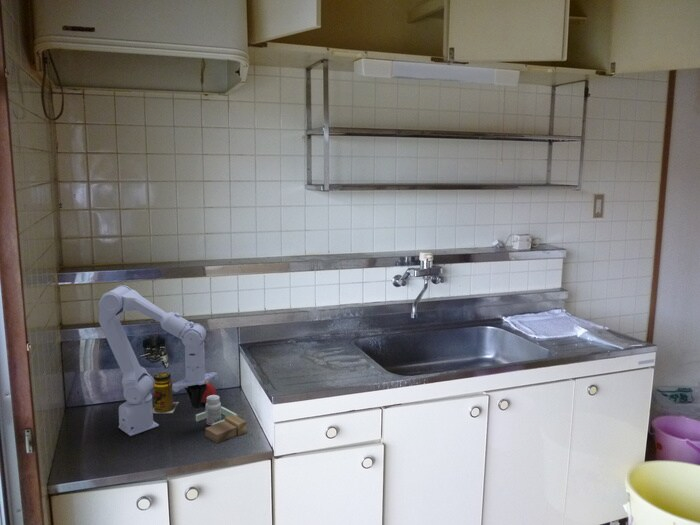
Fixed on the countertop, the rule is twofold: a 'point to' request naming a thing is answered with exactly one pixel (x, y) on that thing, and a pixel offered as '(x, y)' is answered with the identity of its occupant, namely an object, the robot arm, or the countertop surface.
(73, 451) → the countertop surface
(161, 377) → the condiment
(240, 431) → the block
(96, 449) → the countertop surface
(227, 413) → the corral
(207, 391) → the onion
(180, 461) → the countertop surface
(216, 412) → the pill bottle
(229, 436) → the tan cardboard block
